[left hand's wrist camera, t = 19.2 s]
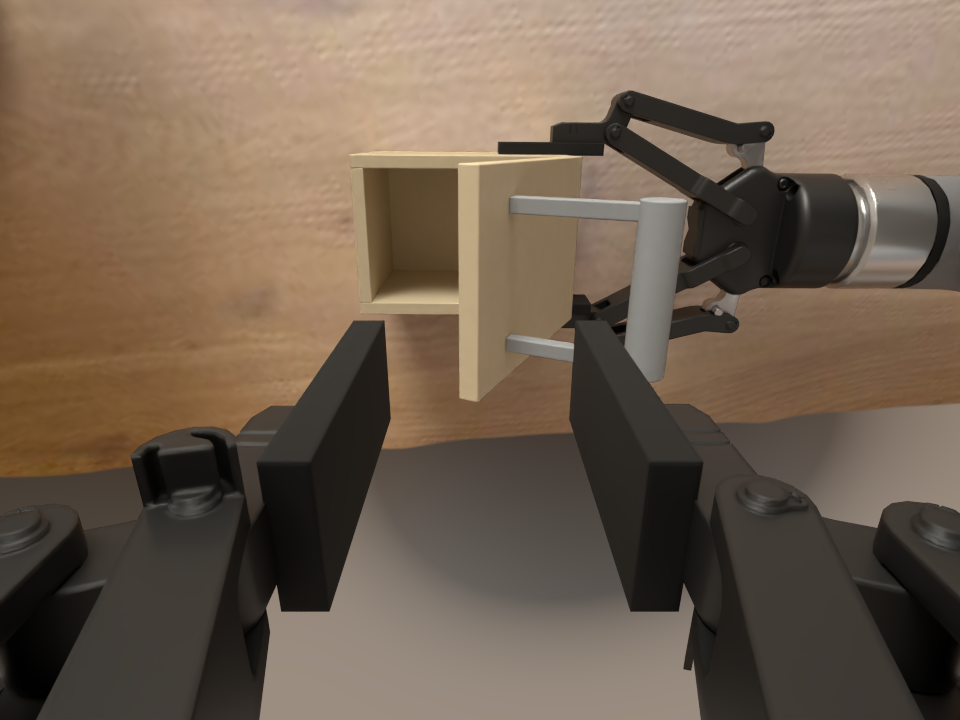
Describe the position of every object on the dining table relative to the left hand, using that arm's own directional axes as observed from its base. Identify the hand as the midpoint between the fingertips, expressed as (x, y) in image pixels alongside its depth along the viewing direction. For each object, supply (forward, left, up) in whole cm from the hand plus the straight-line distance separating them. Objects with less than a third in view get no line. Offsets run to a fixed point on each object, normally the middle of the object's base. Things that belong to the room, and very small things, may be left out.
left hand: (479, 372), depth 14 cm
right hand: (+1, 0, -26) cm, 26 cm away
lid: (+2, 0, -15) cm, 15 cm away
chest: (-1, 0, -32) cm, 32 cm away
